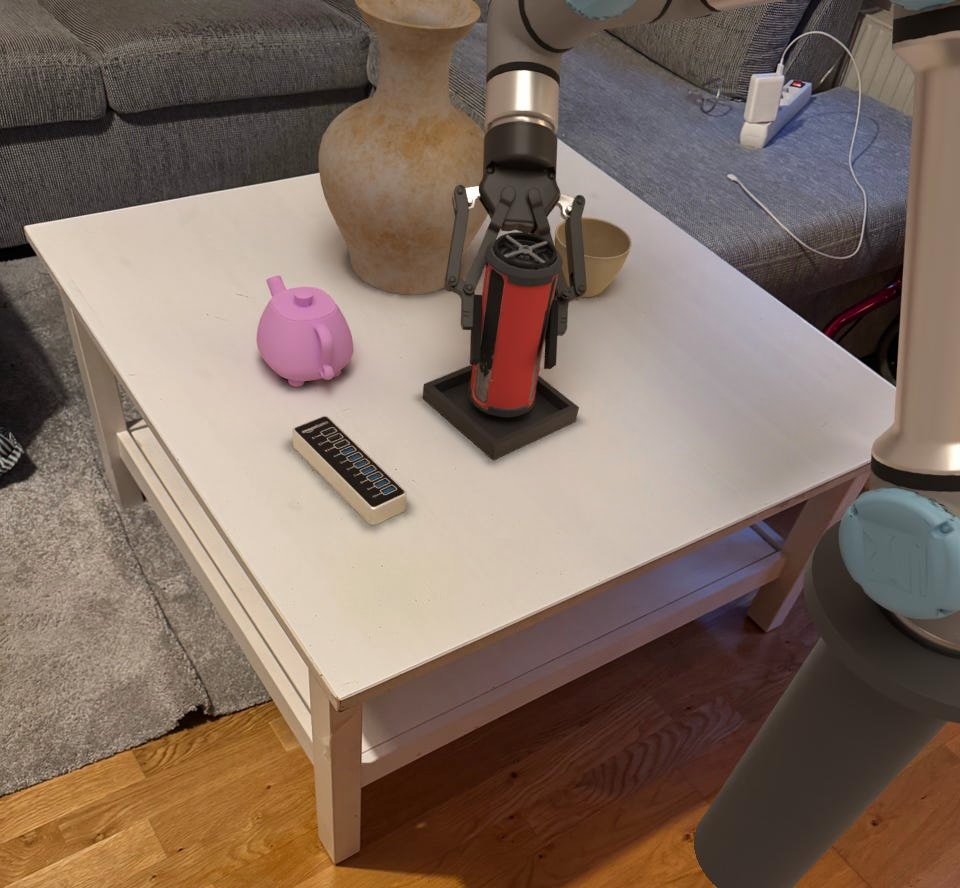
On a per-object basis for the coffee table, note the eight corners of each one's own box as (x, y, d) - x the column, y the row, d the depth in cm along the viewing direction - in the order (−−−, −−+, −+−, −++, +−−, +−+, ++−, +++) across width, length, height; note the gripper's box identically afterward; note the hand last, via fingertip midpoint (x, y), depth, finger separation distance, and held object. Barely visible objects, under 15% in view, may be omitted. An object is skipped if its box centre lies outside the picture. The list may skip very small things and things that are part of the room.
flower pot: (534, 271, 124) (543, 220, 119) (598, 264, 127) (610, 214, 122) (564, 312, 119) (575, 260, 113) (631, 304, 122) (645, 253, 116)
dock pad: (576, 421, 105) (579, 407, 103) (493, 460, 99) (495, 446, 97) (504, 364, 110) (507, 350, 109) (422, 398, 104) (423, 383, 103)
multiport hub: (371, 526, 91) (372, 509, 89) (291, 445, 97) (290, 428, 95) (407, 509, 93) (408, 493, 91) (326, 431, 99) (326, 414, 97)
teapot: (288, 410, 100) (284, 335, 93) (234, 336, 107) (226, 261, 100) (373, 387, 104) (375, 314, 97) (315, 317, 112) (313, 244, 104)
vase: (372, 207, 130) (378, -47, 106) (511, 256, 126) (549, 4, 102) (288, 274, 117) (273, 2, 93) (440, 332, 113) (465, 63, 89)
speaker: (453, 391, 103) (470, 239, 89) (504, 370, 107) (528, 220, 93) (497, 429, 100) (522, 277, 86) (548, 405, 104) (580, 256, 90)
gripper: (607, 157, 98) (597, 375, 101) (419, 140, 95) (414, 365, 98) (627, 127, 91) (615, 363, 93) (424, 107, 88) (418, 352, 91)
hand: (512, 364), depth 96 cm, fingers closed on speaker, 7 cm apart
